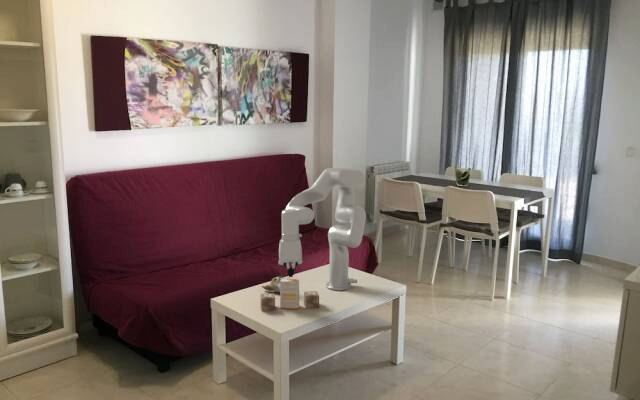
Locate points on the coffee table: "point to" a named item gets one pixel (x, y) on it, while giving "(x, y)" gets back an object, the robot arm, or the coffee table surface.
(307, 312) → the coffee table surface
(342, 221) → the robot arm
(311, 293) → the walnut block
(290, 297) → the supplement box
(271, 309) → the walnut block
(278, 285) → the ceramic sculpture
